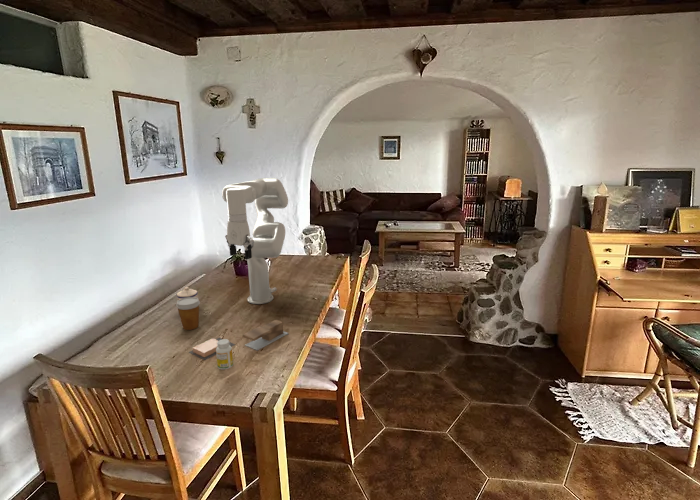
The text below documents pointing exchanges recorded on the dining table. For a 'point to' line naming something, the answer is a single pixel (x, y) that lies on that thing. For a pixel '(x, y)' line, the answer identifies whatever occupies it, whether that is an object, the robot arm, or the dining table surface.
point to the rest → (263, 342)
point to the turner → (266, 331)
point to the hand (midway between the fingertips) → (240, 256)
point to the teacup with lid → (187, 293)
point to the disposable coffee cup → (189, 312)
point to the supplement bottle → (224, 354)
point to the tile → (206, 348)
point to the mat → (211, 354)
